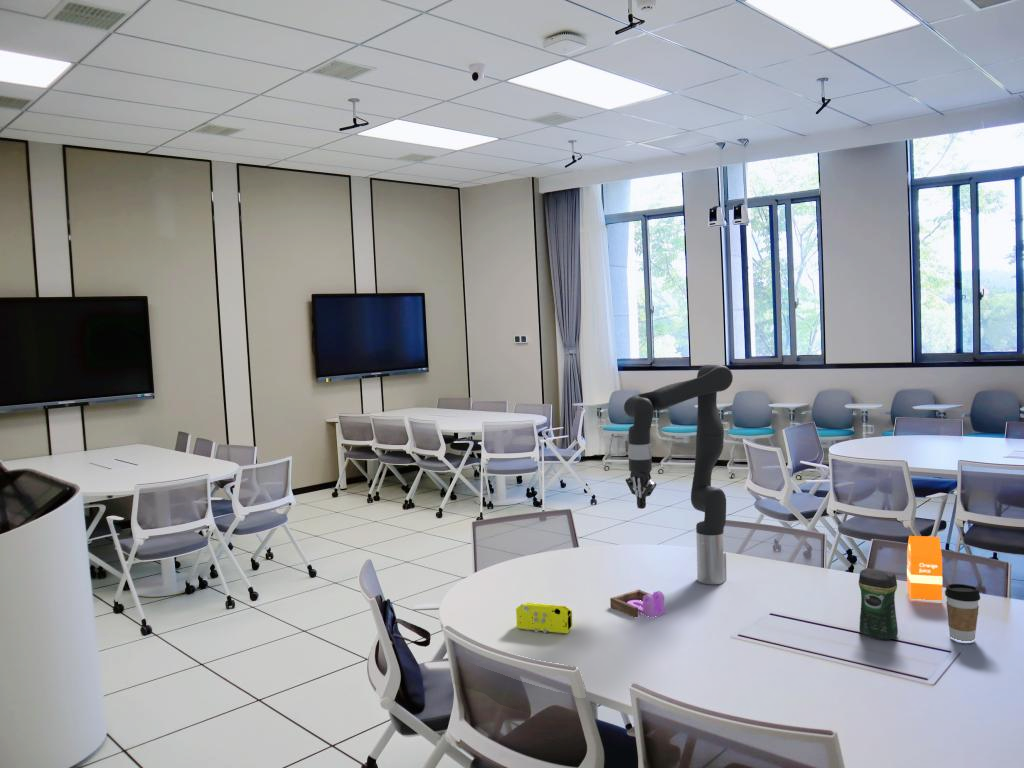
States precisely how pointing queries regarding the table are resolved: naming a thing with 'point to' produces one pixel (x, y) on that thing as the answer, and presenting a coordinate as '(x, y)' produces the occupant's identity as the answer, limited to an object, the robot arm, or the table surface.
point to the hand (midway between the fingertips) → (641, 508)
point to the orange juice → (924, 568)
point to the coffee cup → (962, 611)
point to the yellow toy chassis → (544, 618)
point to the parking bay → (623, 606)
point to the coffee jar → (878, 604)
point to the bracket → (650, 604)
